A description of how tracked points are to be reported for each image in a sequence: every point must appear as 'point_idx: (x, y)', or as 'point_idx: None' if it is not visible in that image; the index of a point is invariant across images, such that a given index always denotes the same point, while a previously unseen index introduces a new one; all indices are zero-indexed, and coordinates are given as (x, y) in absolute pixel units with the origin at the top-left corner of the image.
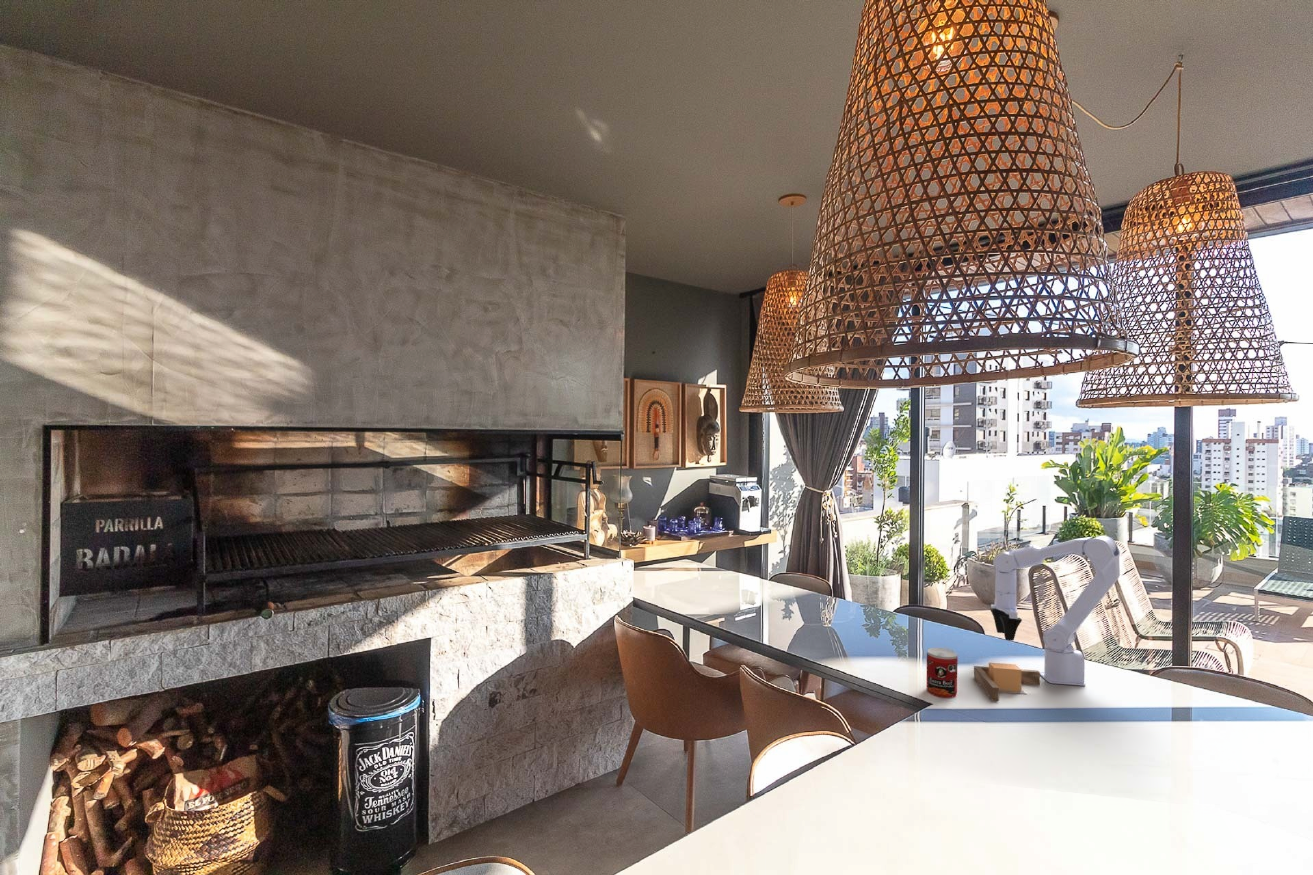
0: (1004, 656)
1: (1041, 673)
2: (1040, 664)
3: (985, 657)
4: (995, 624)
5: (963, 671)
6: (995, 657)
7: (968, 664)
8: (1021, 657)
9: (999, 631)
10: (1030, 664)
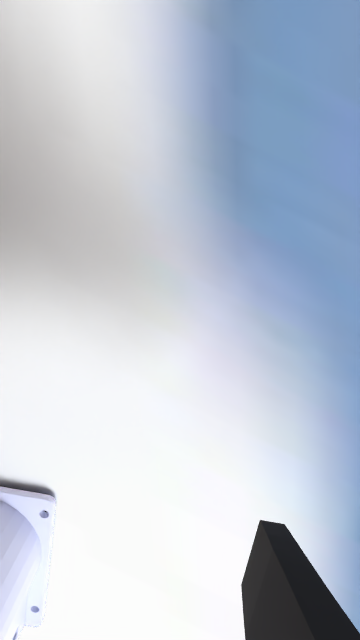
0: (342, 467)
1: (31, 502)
2: (208, 573)
3: (330, 348)
4: (337, 613)
5: (35, 43)
6: (327, 408)
7: (189, 159)
8: (320, 543)
9: (259, 550)
10: (206, 529)
